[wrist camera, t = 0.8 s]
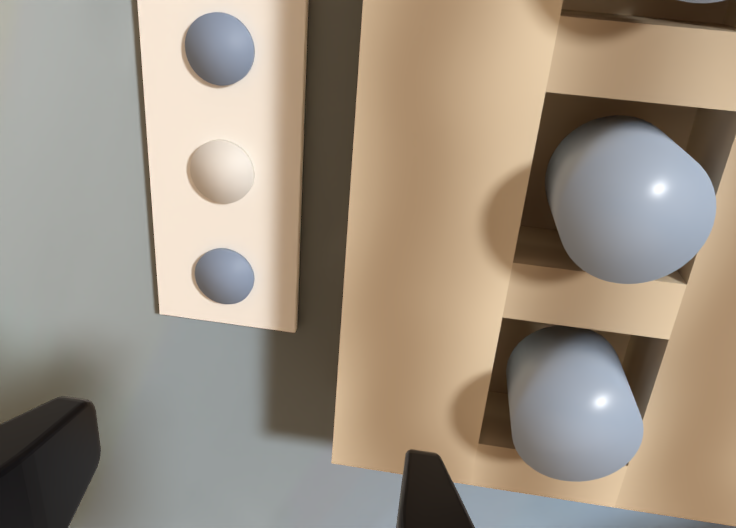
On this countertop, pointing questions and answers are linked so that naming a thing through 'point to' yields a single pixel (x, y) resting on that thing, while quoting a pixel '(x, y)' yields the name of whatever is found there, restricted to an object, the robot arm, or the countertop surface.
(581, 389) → the button
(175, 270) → the card
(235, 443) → the countertop surface
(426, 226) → the button board
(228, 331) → the countertop surface
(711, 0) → the button
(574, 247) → the button middle
